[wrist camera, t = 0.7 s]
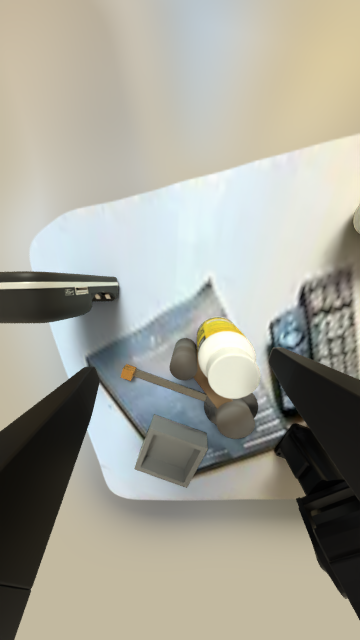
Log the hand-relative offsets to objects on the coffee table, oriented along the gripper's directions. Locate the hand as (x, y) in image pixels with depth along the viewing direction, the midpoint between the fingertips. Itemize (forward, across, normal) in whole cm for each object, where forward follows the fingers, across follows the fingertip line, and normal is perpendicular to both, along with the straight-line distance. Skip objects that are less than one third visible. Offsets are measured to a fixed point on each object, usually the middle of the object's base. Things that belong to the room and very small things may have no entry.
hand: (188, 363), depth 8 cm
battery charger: (+16, +10, 0) cm, 19 cm away
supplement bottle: (+12, -6, +6) cm, 14 cm away
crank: (+9, -5, +13) cm, 17 cm away
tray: (+8, +2, +26) cm, 27 cm away
